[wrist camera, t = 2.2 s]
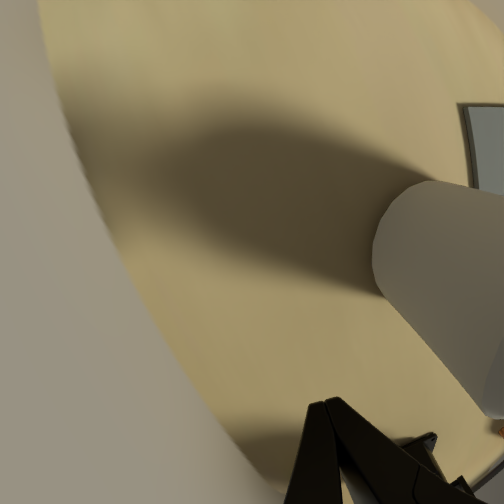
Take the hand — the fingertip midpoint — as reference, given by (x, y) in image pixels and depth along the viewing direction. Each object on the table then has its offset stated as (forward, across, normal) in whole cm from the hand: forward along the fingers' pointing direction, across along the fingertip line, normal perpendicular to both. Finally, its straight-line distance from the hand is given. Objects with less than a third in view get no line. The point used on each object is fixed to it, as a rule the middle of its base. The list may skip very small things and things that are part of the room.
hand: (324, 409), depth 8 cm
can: (+9, -8, 0) cm, 12 cm away
